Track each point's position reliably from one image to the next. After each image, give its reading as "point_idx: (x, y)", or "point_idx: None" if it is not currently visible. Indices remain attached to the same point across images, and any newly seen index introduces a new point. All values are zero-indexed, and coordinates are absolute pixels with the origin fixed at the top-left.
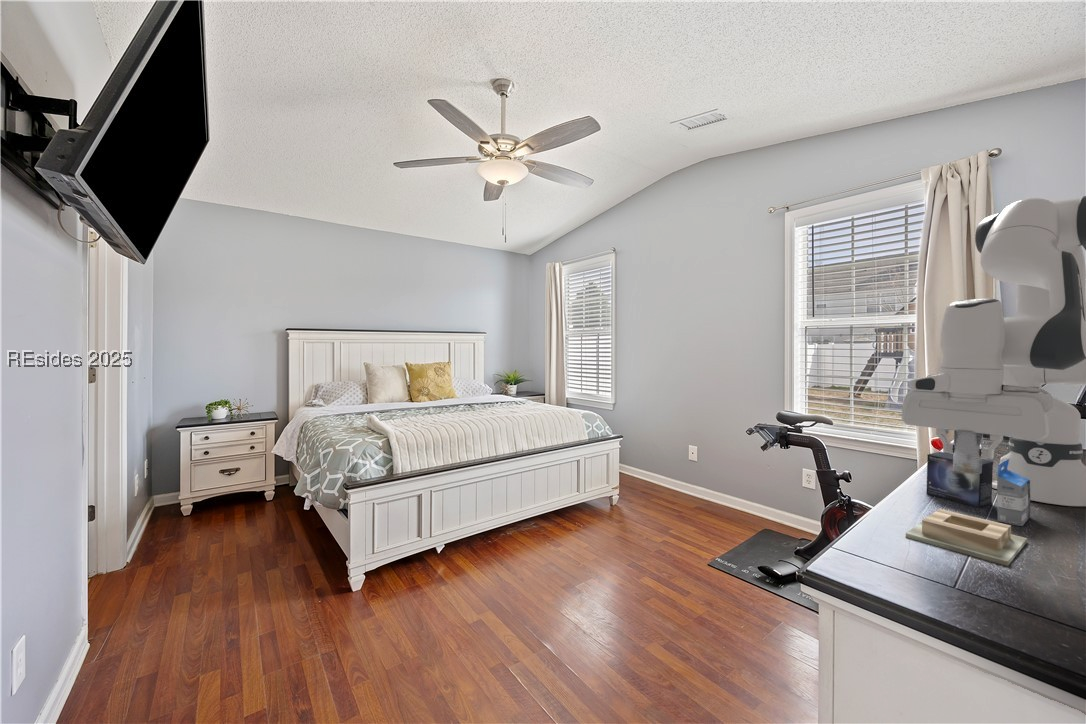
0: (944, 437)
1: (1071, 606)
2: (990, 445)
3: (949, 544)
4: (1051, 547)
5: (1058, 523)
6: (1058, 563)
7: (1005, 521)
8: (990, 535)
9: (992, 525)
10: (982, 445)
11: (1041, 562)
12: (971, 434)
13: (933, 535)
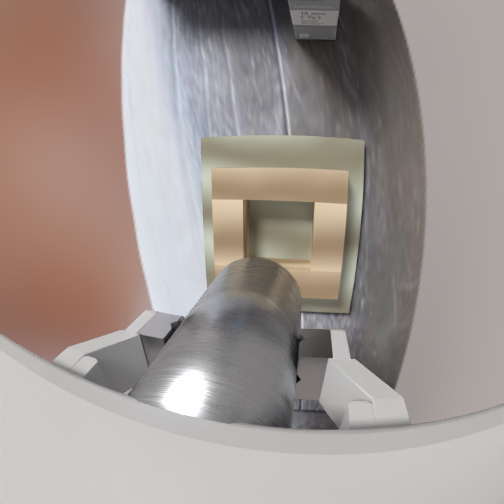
0: (119, 383)
1: (395, 373)
2: (333, 421)
3: None
4: (394, 137)
5: None
6: (406, 227)
7: (308, 38)
8: (326, 285)
9: (320, 206)
10: (295, 389)
11: (387, 245)
12: None
13: None
